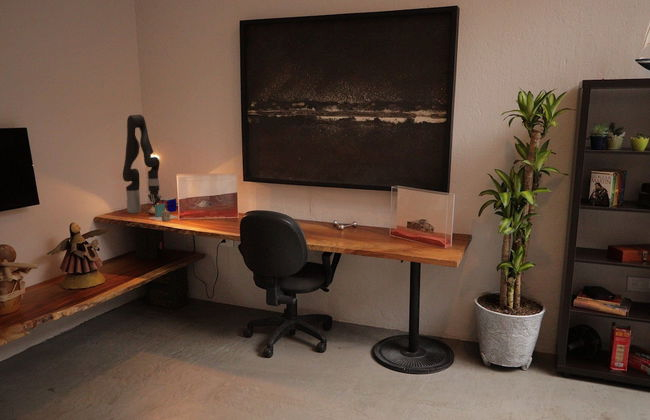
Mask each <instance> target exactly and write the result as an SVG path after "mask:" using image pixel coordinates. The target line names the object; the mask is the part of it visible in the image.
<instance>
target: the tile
mask: <svg viewBox="0 0 650 420" xmlns="http://www.w3.org/2000/svg"><path fill="white" fill-rule="evenodd" d="M162 211H165V203H162V204H158V203H157V205H154V217H161V216H162V214H161V212H162Z"/></svg>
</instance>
